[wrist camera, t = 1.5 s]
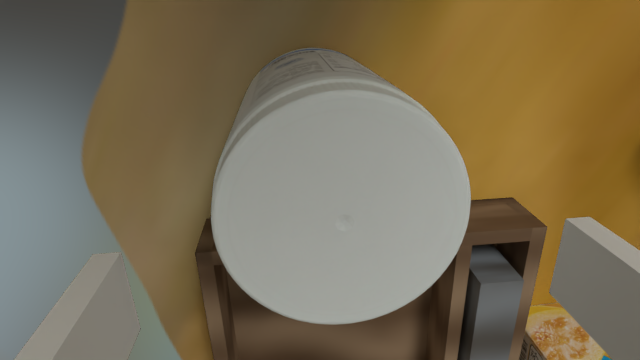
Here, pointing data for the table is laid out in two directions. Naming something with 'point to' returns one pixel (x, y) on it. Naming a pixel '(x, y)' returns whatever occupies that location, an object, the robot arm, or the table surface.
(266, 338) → the wooden compartment tray
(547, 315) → the beverage box
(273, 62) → the supplement tub
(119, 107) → the table surface
